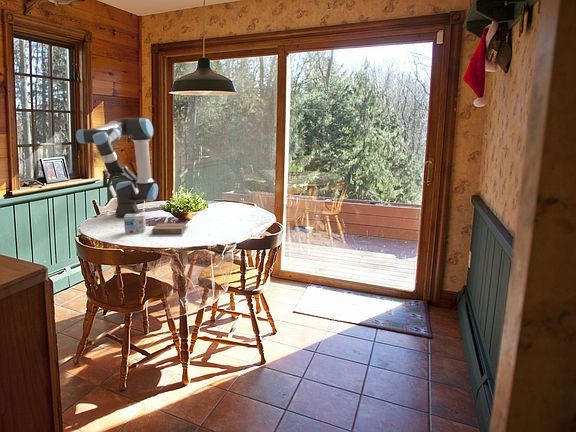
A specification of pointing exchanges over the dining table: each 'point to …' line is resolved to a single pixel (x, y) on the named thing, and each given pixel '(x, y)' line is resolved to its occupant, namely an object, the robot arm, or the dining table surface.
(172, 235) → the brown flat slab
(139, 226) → the light bulb box
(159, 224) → the walnut plinth
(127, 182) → the robot arm
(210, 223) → the dining table surface
